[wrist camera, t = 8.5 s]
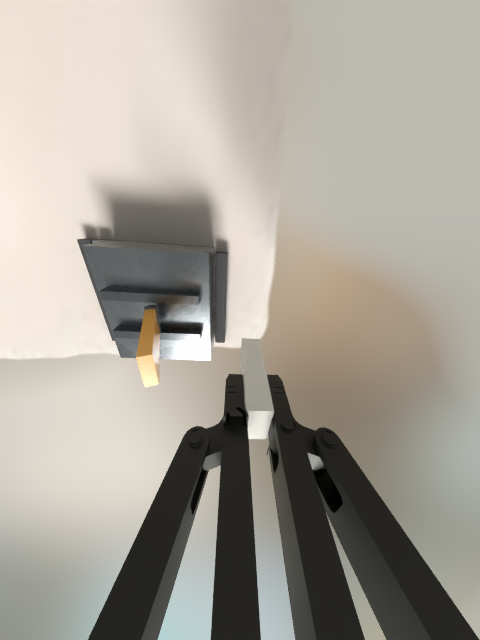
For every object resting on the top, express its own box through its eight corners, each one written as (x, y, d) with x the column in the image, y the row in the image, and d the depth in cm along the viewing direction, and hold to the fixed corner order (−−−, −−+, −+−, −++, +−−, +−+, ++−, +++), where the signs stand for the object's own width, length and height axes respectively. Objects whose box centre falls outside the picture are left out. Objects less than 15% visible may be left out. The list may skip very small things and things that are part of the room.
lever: (144, 305, 19) (134, 357, 12) (156, 304, 19) (153, 354, 12) (149, 329, 20) (143, 387, 13) (160, 327, 21) (160, 384, 14)
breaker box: (112, 240, 21) (70, 246, 16) (213, 247, 22) (206, 255, 16) (137, 336, 28) (114, 363, 23) (214, 339, 29) (209, 366, 23)
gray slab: (86, 238, 21) (76, 239, 20) (112, 240, 21) (104, 241, 20) (117, 335, 28) (112, 340, 27) (137, 336, 28) (132, 341, 27)
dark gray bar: (216, 251, 22) (215, 253, 21) (227, 252, 22) (227, 254, 21) (216, 337, 28) (215, 342, 27) (224, 337, 28) (224, 342, 27)
